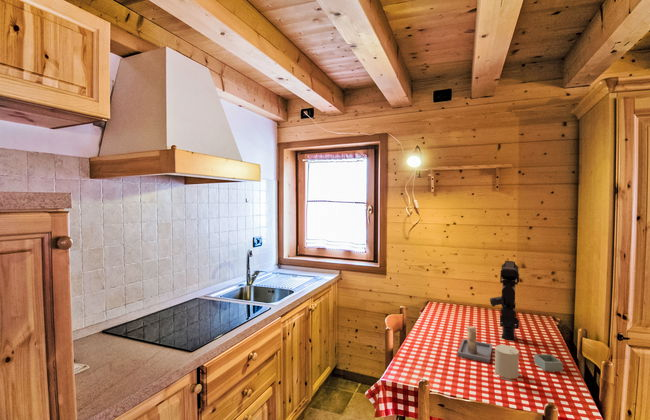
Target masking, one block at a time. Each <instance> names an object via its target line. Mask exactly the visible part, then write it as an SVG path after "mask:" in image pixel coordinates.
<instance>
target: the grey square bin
mask: <svg viewBox="0 0 650 420" xmlns="http://www.w3.org/2000/svg"><path fill="white" fill-rule="evenodd" d="M533 358H534V364H536V365H537V366H538V367H539V368H540V369H542V370H543V371H544V372H564V371H563V370H564V369H563V367H564V363H563V362H562V361H561V360H559V359H558V358H557V357H555V356H554V355H553V354H546V353H545V354H541V353H540V354H539V353H538V354H536V353H534V357H533Z"/></svg>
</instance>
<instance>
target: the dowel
mask: <svg viewBox="0 0 650 420" xmlns="http://www.w3.org/2000/svg"><path fill="white" fill-rule="evenodd" d="M466 331H467V340H468V352H469V353H472V354H476V353H477V342H478V340H477V328H476V327H475V326H472V325H469V326H466Z"/></svg>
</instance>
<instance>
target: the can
mask: <svg viewBox="0 0 650 420" xmlns="http://www.w3.org/2000/svg"><path fill="white" fill-rule="evenodd" d="M494 350H495V351H494V353H495V356H494V358H495V359H494V375H497V376H496V377H497V378H498V379H501V380H504V381H506V382H517V381H516V379H517V378H518V377H519V375H520V374H519V368H520V367H519V365H520V364H519V360H520V350H519V349H517V348H516V347H514V346H511V345H508V344H507V345H506V344H498V345H496V346H495V347H494Z"/></svg>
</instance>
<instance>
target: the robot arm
mask: <svg viewBox="0 0 650 420" xmlns="http://www.w3.org/2000/svg"><path fill="white" fill-rule="evenodd" d="M499 277H500V278H499V279H500V280H499V281H500V282H499V283H500V284H502V288H501V296H496V297H491V298H489V302H490V305H491V307H495V306H500V305H501V308H500V316H499V327H502V333H501V339H503V340H509V341H516V335H515V329H516V330H518V329H519V328H520V320H519V319H518V317H517V312H516V304H517V303H516V285H517V286H518V284H519V283H520V274H519V266H518V264H516V261H513V260H504V263H503V264H501V270H500V276H499Z"/></svg>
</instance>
